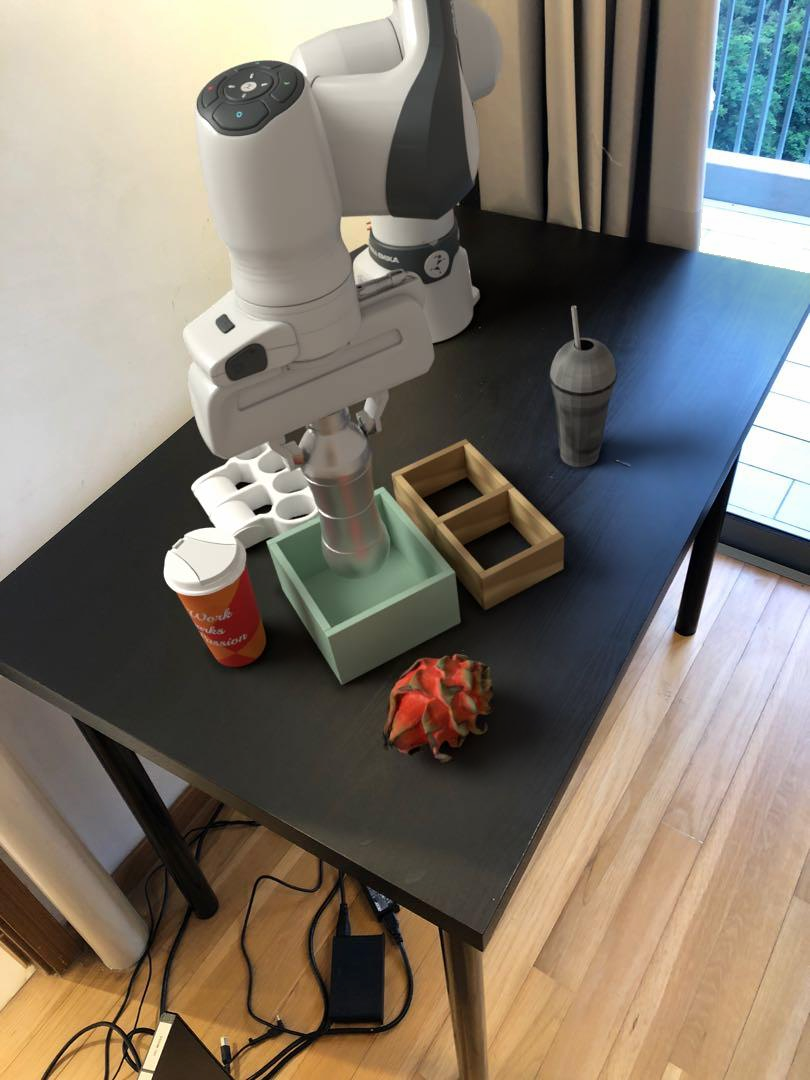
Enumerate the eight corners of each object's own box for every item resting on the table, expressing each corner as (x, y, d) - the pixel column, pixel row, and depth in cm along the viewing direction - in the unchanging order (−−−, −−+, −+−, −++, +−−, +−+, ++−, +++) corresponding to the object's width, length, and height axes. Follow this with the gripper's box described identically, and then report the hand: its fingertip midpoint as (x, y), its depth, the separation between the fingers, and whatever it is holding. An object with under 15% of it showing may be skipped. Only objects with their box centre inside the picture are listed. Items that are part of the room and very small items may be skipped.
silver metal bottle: (405, 567, 86) (379, 406, 71) (344, 599, 84) (305, 440, 69) (373, 529, 90) (342, 369, 75) (315, 558, 88) (271, 400, 73)
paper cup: (187, 657, 89) (142, 567, 79) (236, 605, 93) (198, 513, 83) (244, 688, 86) (204, 598, 76) (292, 633, 90) (260, 540, 80)
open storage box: (282, 589, 94) (265, 540, 89) (392, 536, 98) (383, 486, 92) (342, 685, 85) (327, 637, 79) (461, 622, 88) (455, 572, 83)
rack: (396, 505, 101) (391, 473, 97) (468, 470, 104) (465, 438, 100) (484, 610, 89) (482, 579, 85) (563, 569, 92) (564, 536, 88)
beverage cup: (610, 477, 100) (621, 327, 86) (545, 474, 102) (546, 327, 87) (612, 435, 105) (623, 287, 90) (550, 433, 106) (552, 287, 92)
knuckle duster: (186, 485, 108) (292, 437, 112) (243, 574, 96) (358, 517, 100) (178, 465, 105) (286, 416, 109) (235, 554, 94) (354, 496, 98)
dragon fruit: (504, 702, 83) (404, 781, 81) (451, 629, 84) (350, 706, 81) (529, 704, 75) (418, 793, 72) (470, 624, 75) (358, 709, 73)
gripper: (400, 245, 70) (418, 384, 80) (161, 338, 65) (212, 475, 75) (440, 277, 66) (454, 419, 76) (189, 379, 61) (239, 517, 71)
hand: (332, 447), depth 76 cm, fingers closed on silver metal bottle, 6 cm apart
